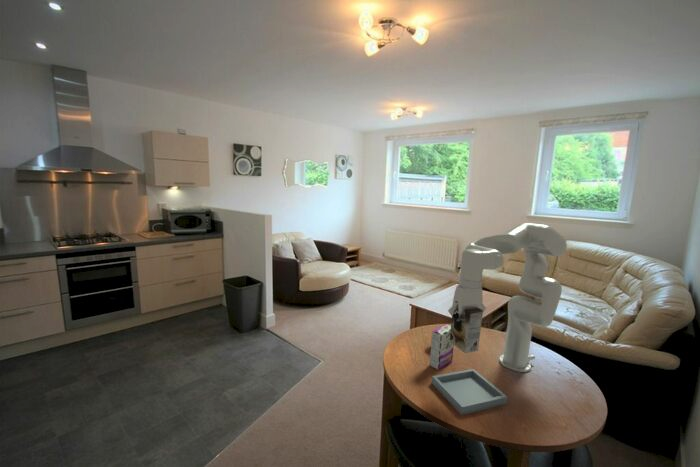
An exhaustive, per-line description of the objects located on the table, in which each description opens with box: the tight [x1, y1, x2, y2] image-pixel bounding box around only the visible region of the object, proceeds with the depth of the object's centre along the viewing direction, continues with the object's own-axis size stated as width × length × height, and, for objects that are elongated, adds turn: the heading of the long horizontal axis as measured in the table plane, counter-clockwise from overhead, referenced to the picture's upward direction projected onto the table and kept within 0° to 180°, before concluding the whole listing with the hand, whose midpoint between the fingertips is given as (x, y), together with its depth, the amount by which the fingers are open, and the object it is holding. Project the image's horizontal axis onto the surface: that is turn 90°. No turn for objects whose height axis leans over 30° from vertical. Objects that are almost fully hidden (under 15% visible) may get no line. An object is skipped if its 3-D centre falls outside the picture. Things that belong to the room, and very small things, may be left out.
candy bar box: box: [429, 323, 455, 371], centre depth 136 cm, size 11×5×16 cm, turn 131°
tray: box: [431, 368, 509, 416], centre depth 118 cm, size 20×18×3 cm
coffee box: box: [450, 308, 484, 354], centre depth 116 cm, size 9×6×16 cm
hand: (465, 328), depth 117 cm, fingers closed on coffee box, 6 cm apart
